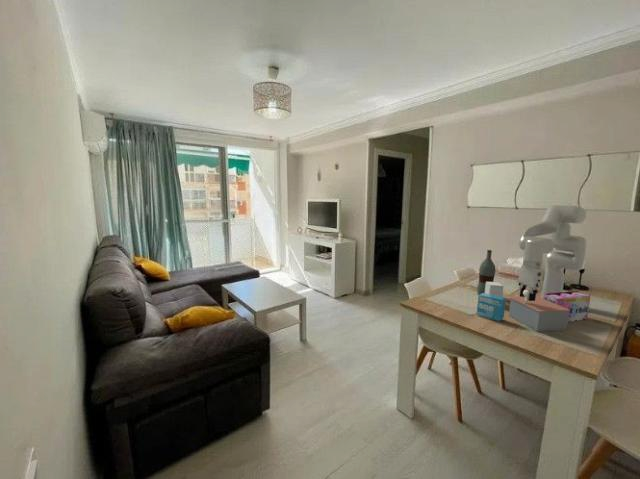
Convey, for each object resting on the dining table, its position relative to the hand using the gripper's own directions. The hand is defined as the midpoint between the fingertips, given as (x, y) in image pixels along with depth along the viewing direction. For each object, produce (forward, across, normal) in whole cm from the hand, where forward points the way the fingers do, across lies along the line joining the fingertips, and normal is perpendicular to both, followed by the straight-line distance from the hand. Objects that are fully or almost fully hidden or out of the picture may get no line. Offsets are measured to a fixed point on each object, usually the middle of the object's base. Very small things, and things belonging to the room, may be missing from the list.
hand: (527, 298), depth 145 cm
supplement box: (+14, +26, -2) cm, 30 cm away
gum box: (+14, +4, -27) cm, 30 cm away
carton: (+14, 0, -7) cm, 15 cm away
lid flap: (+3, 0, -7) cm, 7 cm away
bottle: (+14, +40, -7) cm, 43 cm away
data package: (+14, +8, +13) cm, 21 cm away
